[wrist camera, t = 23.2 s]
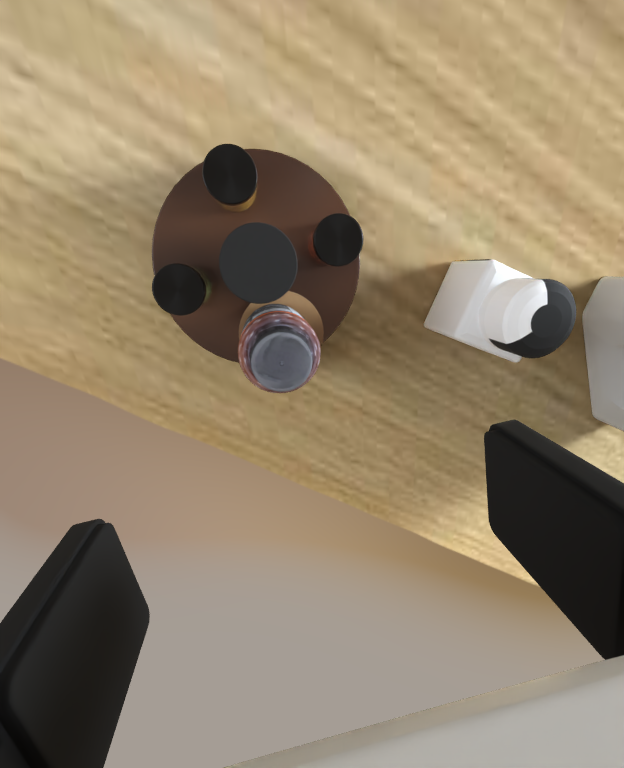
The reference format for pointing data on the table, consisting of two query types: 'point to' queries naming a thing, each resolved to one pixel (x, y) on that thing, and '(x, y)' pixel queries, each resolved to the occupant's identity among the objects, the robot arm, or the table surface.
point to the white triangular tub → (606, 350)
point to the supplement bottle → (278, 349)
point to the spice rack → (253, 247)
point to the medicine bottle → (502, 310)
